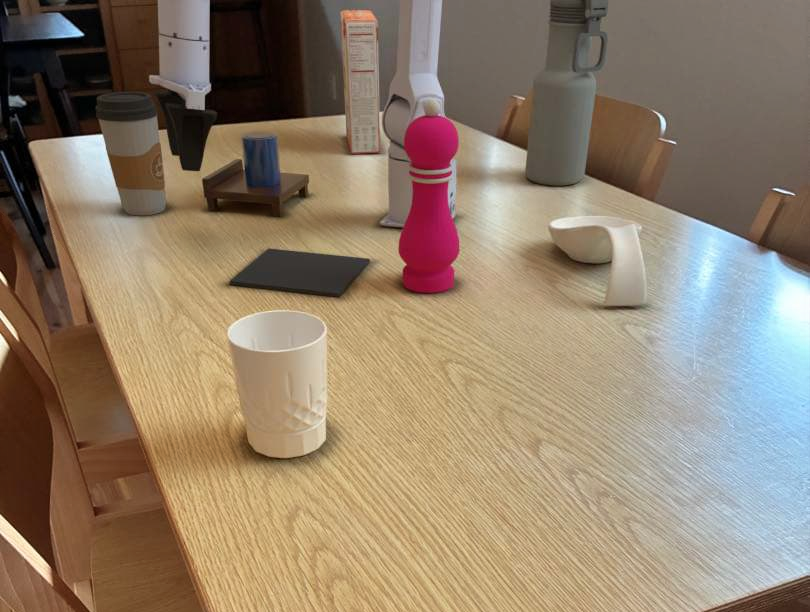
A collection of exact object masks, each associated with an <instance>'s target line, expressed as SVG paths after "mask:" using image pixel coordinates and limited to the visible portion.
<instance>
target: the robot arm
mask: <svg viewBox="0 0 810 612" xmlns="http://www.w3.org/2000/svg"><path fill="white" fill-rule="evenodd" d="M210 5H211V2H210V0H157V21H158V23H157V26H158V57H159V59H158V61H159V75H157V74H156V75H155V74H150V75H149V76H148V78H149V79H148V80H149V82H150V84H152V85H159V86H160V87H163V88H165V89H167V91H165V90H164V91H163V90H154V96H155V97H156V100H157V102H158V105H159V107H160V110H161V112H162V115H163V119H164V123H165V124H164V125H165V130H166V134H167V141H168V145H169V149H170V154H171V156H174V157H178V159H179V163H180V168H181V170H182V171H184V172H185V171H186V172H200V171H201V168H202V165H203V161H204V155H205V150H206V145H207V141H208V137H209V134H210V131H211V130H212V127H213V125H214V123H215V122H216V120H217V117H218V112H217V111H215V110H214V109H206V108H205V107H206V106H205V105H206V103H205V102H206V95H207V94H209V93H210V92H211V90H212V83H211V82H210V17H211V15H210V10H211V9H210V7H211V6H210ZM442 8H443V0H399V11H398V12H399V13H398V14H399V15H398V34H397V35H398V36H397V55H396V56H397V58H396V73H395V75H394V76H393V79H392V80H391V82H390V84H389V90H388V91H389V93H388V99H387V102H386V104H385V106H384V108H383V111H382V114H381V127H382V131H383V133H384V135H385V137H386V138H387V139H388V140H389V147H388V150H387V161H388V162H387V163H388V165H387V170H388V172H387V173H388V174H387V175H388V178H387V180H388V213H387V214H386V215H385V216H384V217H382V219H381V220H380V221H379V225H380V226H382V227H392V228H401V229H403V227H404V224H405V222H406V220H407V218H408V215H409V212H410V209H411V204H412V194H413V188H412V180H411V179H410V178H409V177H408V174H409V168H408V166H409V164H410V163H412V162H411V160H410V158H409V157H408V155H407V154H406V152H405V149H404V137H405V132H406V130H407V128H408V126H409V124H410V123H411V122H412V121H413V120H415V119H416V118H418V117H421V116H424V115H426V114H425V112H424V105H425V103H426V102H427V101H428V100H430V99H435V100H436V101H438V103H439V104H440V113H439V114H438V116H442V117H445V118H447V117H446V114H445V95H444V92H443V89H442V87H441V84H440V81H439V79H438V65H439V51H440V38H441V37H440V36H441V23H442V11H443V9H442ZM450 163H451V164H452V165H453V170H452V174H453V178H452V179H451V180H449V184H448V204H449V210H450V213H451V216H452V219H453V220H454V218H455V217H456V216H457V212H456V199H457V198H456V197H457V176H458V175H457V173H458V172H457V170H458V169H457V160H456V159H455V158H454V157H453V158H452V160H451V161H450Z"/></svg>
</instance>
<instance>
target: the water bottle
mask: <svg viewBox="0 0 810 612" xmlns="http://www.w3.org/2000/svg"><path fill="white" fill-rule="evenodd" d="M549 5H550V8H549V15H548V16H549V20H548V21H547V23H548V25H549V27H548V36H547V37H548V39H547V46H546V57H545V67H544V69H542V70H541V71H540V72H539V73H538V74H537V75H536V76H535V77H534V80H533V84H532V94H531V104H530V105H531V106H530V116H529V127H528V136H527V137H528V138H527V147H526V148H527V149H526V160H525V171H524V172H525V177H526V178H527V179H528V180H530V181H531V182H533V183H535V184H538V185H543V186H552V187H565V186H572V185H575V184H578V183H580V182H582V180H583V179H584V177H585V175H586V165H587V161H588V160H587V159H588V150H589V145H590V137H591V129H592V123H593V122H592V121H593V114H594V107H595V99H596V92H597V80H596V77H595V75H594V74H593V73H592V72H598V71H600V70H601V69H602V68H603V67H604V65H605V60H606V53H607V46H608V37H609V36H608V34H607V32H606V31H602V30H601V24H602V18H606V16H607V14H608V10H609V9H608V8H609V0H549ZM593 37H599V38H600V41H601V42H600V50H599V57H598V61H597V63H596V64H595V65H594V66H589V63H590V57H591V48H592V40H593Z"/></svg>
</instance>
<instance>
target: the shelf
mask: <svg viewBox="0 0 810 612" xmlns="http://www.w3.org/2000/svg"><path fill="white" fill-rule="evenodd" d="M280 177H281V183H280V184H278V185H275V186H270V187H253V186H249V185H247V184H246V177H245V169H244V162H243V158H236V159H234V160H232V161H231V162H229V163H227V164H225V165H224V166H222V167H220V168H218V169H217V170H215V171H213V172H211V173H210V174H207V175H206V176H204V177H203V178H202V179H201V182H202V189H203V196H204V199H206V204H207V210H208V211H212V212H216V211H218V210H219V209H220V208H219V200H224V201H232V202H233V201H235V202H246V203H247V202H248V203H257V204H268V205H271V211H272V217H276V218H281V217H282V216H284V209H283V208H284V206H283V203H284V202H286V201H287V200H288V199H290V198H292V196H293V195H295V194H296V193H297V192H298V197H299V198H300V197H301V198H306V197H308V196H309V186H308V185H309V183H310V176H309V174H303V173H292V172H280Z"/></svg>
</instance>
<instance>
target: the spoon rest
mask: <svg viewBox="0 0 810 612" xmlns="http://www.w3.org/2000/svg"><path fill="white" fill-rule="evenodd" d="M547 228H548V232H549V234H550V236H551V239H552V240H553V242H554V243H555V244H556V246H557V247H559V249H561V250H562V251H563V252H564V253H566V254H567V256H568V257H569V258H570V259H572V260H574V261H576V262H579V263H585V264H605V263H609V262H611V265H610V266H611V267H610V273H609V278H608V283H607V287H606V292H605V296H604V302H603V303H604V305H605V306H609V307H610V306H611V307H613V306H641V305H642V306H643V305H645V304H646V301H647V278H646V277H647V276H646V270H645V269H646V268H645V263H644V262H645V261H644V257H643V251H642V247H641V242H640V238H639V237H640V235H641V233H642V231H643V228H642V226H641V225H640V224H639V223H637V222H635V221H632V220H629V219H625V218H620V217H617V216H609V215H607V216H606V215H576V216H565V217H560V218H556V219H553V220H551V221H550V222H549V223H548V226H547Z"/></svg>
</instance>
